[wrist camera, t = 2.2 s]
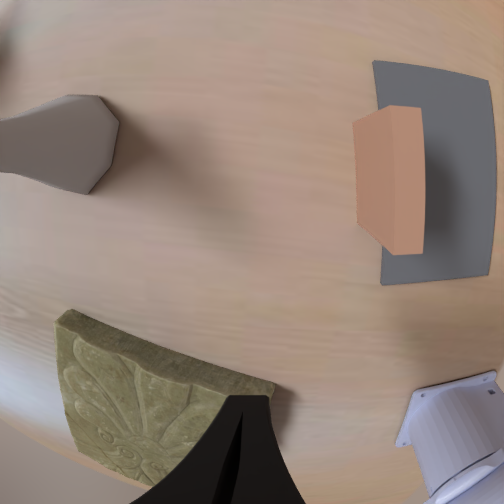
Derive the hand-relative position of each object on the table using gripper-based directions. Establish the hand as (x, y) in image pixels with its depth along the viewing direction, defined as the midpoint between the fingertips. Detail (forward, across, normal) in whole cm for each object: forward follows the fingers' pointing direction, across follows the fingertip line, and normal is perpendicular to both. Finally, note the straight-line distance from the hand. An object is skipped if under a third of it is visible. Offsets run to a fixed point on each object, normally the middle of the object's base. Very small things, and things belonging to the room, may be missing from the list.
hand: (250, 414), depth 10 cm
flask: (+11, +12, -11) cm, 20 cm away
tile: (+10, -7, -7) cm, 14 cm away
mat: (+10, -12, -7) cm, 17 cm away
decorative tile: (+11, +11, +14) cm, 21 cm away
